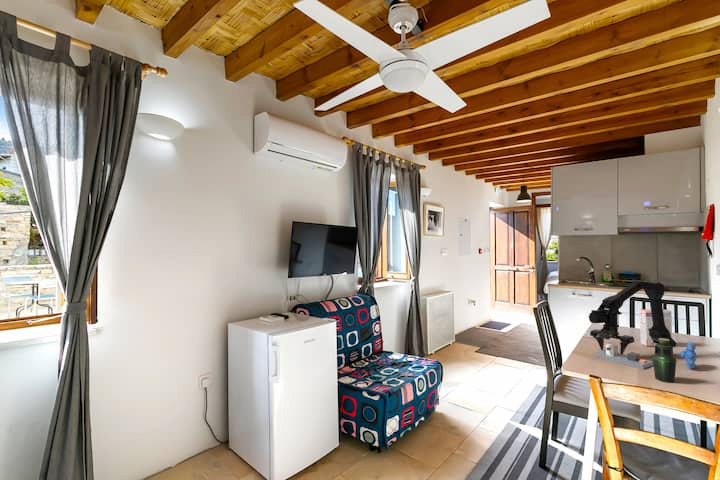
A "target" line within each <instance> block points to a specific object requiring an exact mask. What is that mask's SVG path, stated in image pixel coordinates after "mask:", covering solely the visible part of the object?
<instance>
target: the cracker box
mask: <svg viewBox="0 0 720 480" xmlns="http://www.w3.org/2000/svg"><path fill="white" fill-rule="evenodd" d="M663 314H664V321H665V326H666V327H667V329H668V330H669V332H670V335H671V338H672V339H673V325H672V322H673V321H672V320H673V319H672V310H669V309H663ZM652 326H653V321H652V314H651V308H649V309H639V333H640V334H639V337H640V340H639V341H640V345H641V346H645V347H649V348H651V347H653V348H655V346H656V343H654V342H653V340H652V339H651V337H650V336H649V328H652Z"/></svg>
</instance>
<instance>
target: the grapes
mask: <svg viewBox="0 0 720 480" xmlns="http://www.w3.org/2000/svg"><path fill="white" fill-rule="evenodd" d="M696 348H697V347H696V345H695V344H694V343H693V342H688V343H687V344H686V347H685V350H682V351H680V352H679V353H678V355H679V356H680V357H681V358H684V359H685V362H686V364H685V365H686V366H687V368H688V369H691V370H692V369H694V368H696V367H697V364H696V361H697V358H698V357H699V356H698V354H697V353H696V351H695V350H696Z"/></svg>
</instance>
